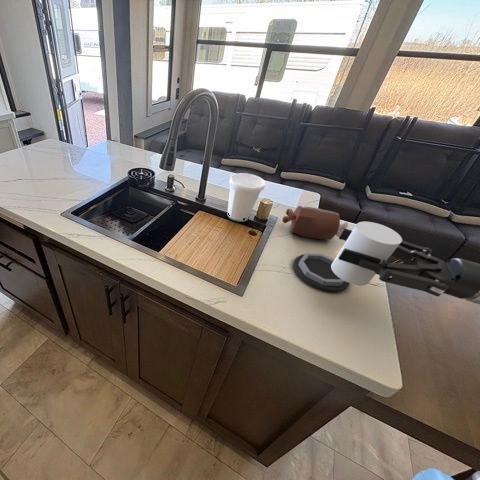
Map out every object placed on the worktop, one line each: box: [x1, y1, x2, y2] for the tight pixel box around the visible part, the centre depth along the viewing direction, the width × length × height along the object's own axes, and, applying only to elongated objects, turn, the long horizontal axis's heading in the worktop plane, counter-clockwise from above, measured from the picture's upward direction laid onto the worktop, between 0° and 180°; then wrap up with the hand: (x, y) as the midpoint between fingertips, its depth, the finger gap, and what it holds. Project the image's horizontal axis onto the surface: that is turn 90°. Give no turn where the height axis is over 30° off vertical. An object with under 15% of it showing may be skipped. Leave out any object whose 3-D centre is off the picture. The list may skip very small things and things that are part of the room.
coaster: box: [292, 252, 350, 294], centre depth 76 cm, size 15×15×3 cm
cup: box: [226, 172, 267, 223], centre depth 96 cm, size 12×12×15 cm
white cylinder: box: [331, 221, 403, 286], centre depth 57 cm, size 8×8×12 cm
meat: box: [281, 205, 349, 241], centre depth 89 cm, size 20×12×10 cm, turn 70°
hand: (341, 243), depth 58 cm, fingers closed on white cylinder, 8 cm apart
